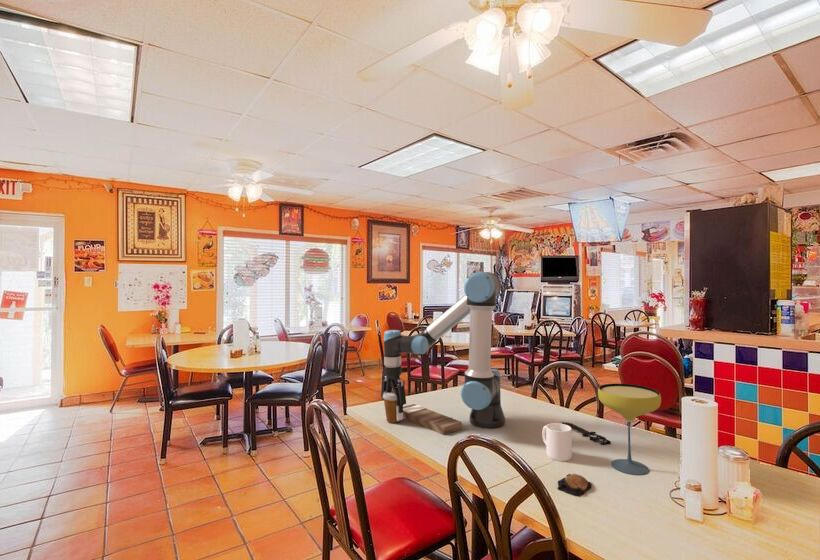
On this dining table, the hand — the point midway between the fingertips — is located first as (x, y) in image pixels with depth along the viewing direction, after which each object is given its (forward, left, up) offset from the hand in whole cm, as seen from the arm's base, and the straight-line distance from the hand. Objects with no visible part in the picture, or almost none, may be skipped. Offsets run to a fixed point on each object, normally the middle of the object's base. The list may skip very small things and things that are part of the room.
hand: (393, 417), depth 181 cm
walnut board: (-14, -5, -2) cm, 15 cm away
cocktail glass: (-91, +13, -2) cm, 92 cm away
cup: (-68, +11, -2) cm, 69 cm away
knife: (-77, -13, -2) cm, 78 cm away
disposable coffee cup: (0, 0, -1) cm, 1 cm away
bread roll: (-74, +33, -2) cm, 81 cm away
